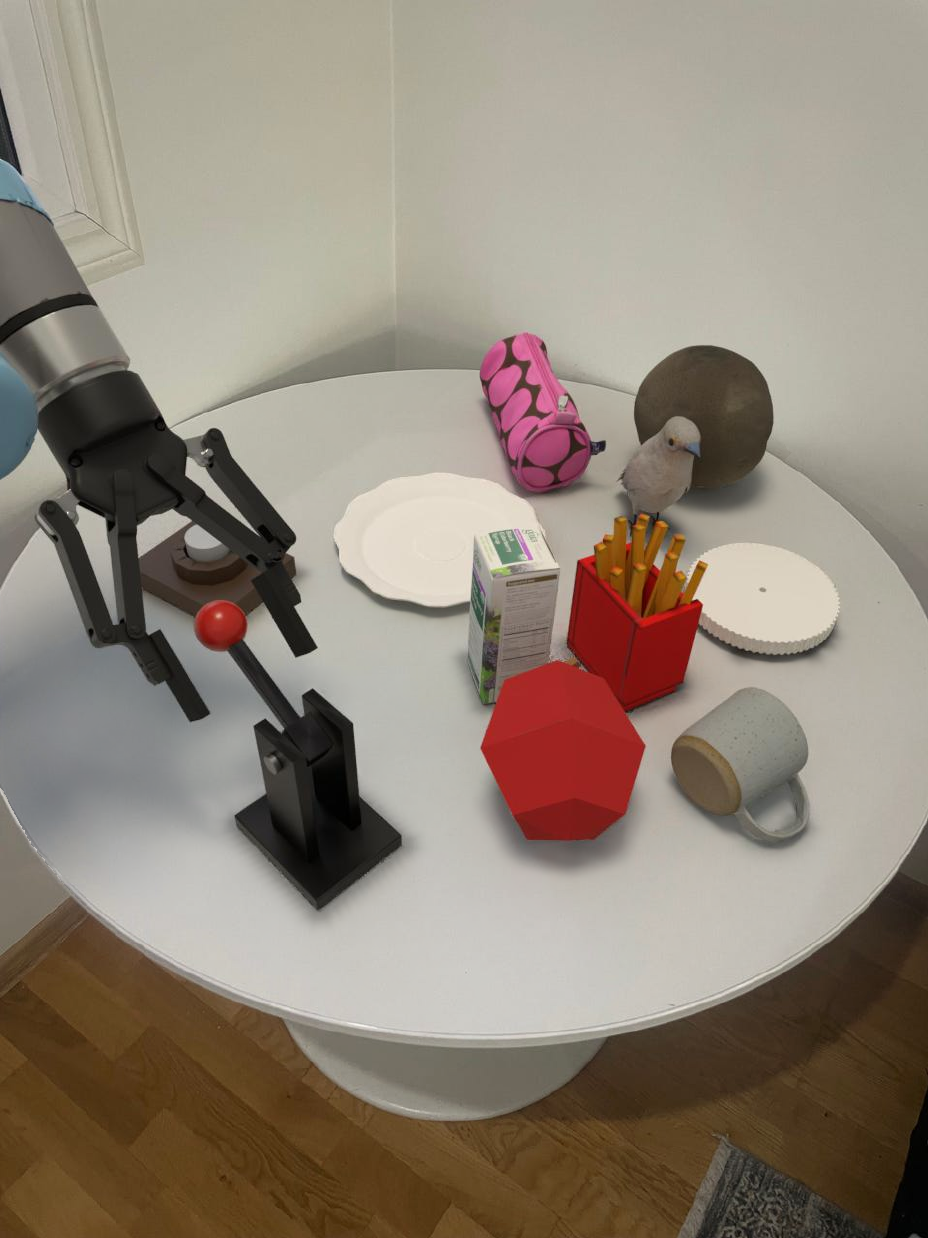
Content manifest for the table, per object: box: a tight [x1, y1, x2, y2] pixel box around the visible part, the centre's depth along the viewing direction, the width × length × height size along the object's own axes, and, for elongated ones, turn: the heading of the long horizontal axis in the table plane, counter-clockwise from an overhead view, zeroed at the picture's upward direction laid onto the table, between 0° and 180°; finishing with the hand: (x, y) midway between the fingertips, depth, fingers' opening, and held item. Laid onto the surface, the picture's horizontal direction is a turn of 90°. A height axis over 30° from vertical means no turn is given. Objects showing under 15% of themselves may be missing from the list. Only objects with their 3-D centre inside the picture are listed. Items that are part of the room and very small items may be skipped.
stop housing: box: [138, 520, 297, 618], centre depth 94 cm, size 12×10×4 cm
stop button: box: [184, 525, 230, 562], centre depth 93 cm, size 4×4×2 cm
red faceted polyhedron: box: [479, 656, 647, 842], centre depth 74 cm, size 12×12×15 cm
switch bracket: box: [233, 687, 403, 911], centre depth 71 cm, size 10×8×13 cm
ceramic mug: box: [670, 686, 811, 843], centre depth 76 cm, size 11×8×8 cm
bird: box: [615, 416, 701, 538], centre depth 98 cm, size 5×14×15 cm, turn 17°
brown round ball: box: [633, 344, 775, 489], centre depth 104 cm, size 14×14×15 cm
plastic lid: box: [683, 541, 841, 656], centre depth 93 cm, size 14×14×2 cm
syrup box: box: [467, 526, 561, 705], centre depth 82 cm, size 6×6×14 cm
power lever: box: [193, 600, 334, 767], centre depth 68 cm, size 13×4×4 cm, turn 44°
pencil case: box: [479, 331, 607, 493], centre depth 111 cm, size 21×10×10 cm, turn 13°
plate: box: [332, 471, 547, 609], centre depth 100 cm, size 21×21×2 cm
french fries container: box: [566, 512, 708, 713], centre depth 84 cm, size 7×9×14 cm
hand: (255, 684), depth 69 cm, fingers open, 8 cm apart
